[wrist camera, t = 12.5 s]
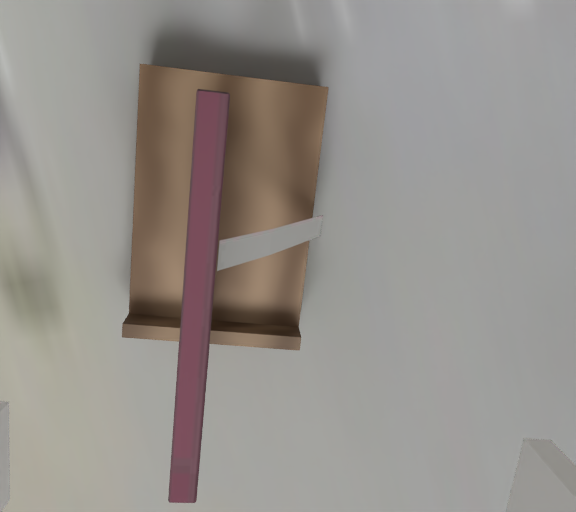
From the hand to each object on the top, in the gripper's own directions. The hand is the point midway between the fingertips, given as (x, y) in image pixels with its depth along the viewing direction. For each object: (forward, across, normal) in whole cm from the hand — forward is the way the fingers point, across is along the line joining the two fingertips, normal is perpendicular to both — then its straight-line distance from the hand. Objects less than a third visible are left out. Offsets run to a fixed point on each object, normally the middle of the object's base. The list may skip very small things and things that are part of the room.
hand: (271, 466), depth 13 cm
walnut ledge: (+36, +3, -1) cm, 36 cm away
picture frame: (+32, 0, -1) cm, 33 cm away
